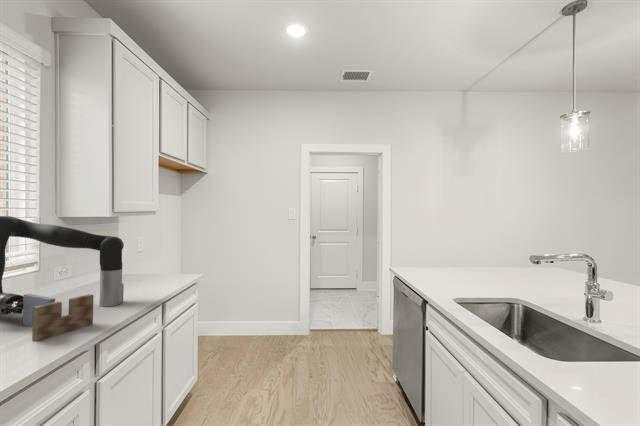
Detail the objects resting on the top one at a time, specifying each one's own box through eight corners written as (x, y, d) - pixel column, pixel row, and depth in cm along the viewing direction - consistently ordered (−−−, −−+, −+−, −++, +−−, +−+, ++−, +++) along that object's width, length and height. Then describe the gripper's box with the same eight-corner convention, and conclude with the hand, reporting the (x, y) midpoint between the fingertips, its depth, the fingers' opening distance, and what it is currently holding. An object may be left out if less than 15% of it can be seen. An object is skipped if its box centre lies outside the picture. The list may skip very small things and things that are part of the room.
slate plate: (28, 323, 135) (29, 293, 135) (54, 329, 130) (55, 298, 129) (22, 324, 133) (23, 294, 133) (48, 331, 128) (49, 299, 128)
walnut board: (88, 323, 137) (89, 294, 137) (92, 324, 136) (93, 294, 136) (32, 340, 119) (33, 306, 118) (36, 341, 118) (37, 307, 118)
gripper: (-13, 297, 132) (12, 303, 126) (29, 290, 145) (53, 294, 139) (-14, 316, 132) (11, 323, 126) (29, 307, 145) (53, 312, 139)
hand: (33, 308), depth 132 cm, fingers open, 8 cm apart
